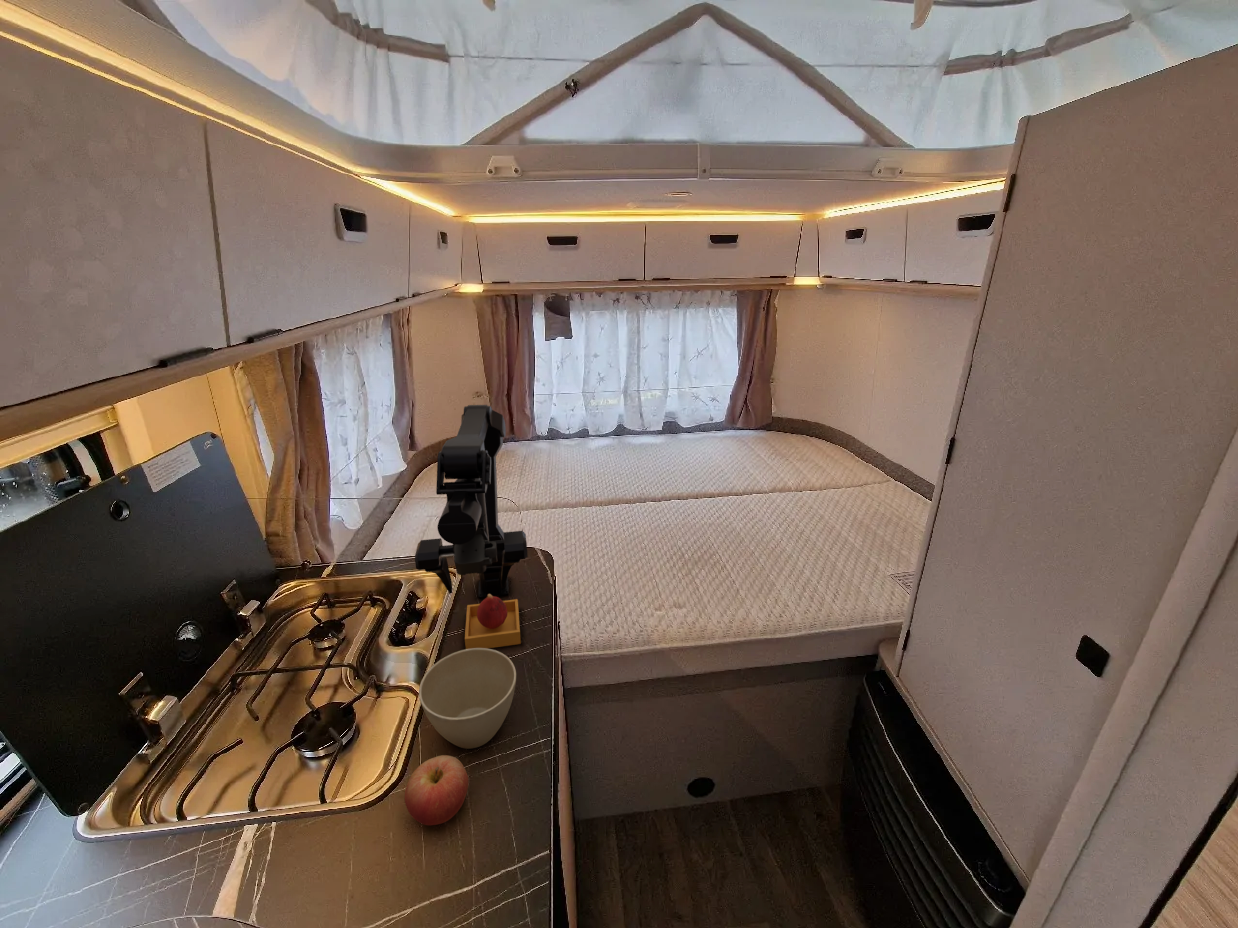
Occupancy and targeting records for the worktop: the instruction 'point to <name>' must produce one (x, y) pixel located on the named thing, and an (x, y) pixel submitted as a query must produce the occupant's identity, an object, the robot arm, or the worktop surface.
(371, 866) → the worktop surface
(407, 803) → the apple
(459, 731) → the flower pot
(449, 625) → the worktop surface
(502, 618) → the onion
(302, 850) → the worktop surface
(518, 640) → the amber tray
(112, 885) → the worktop surface
